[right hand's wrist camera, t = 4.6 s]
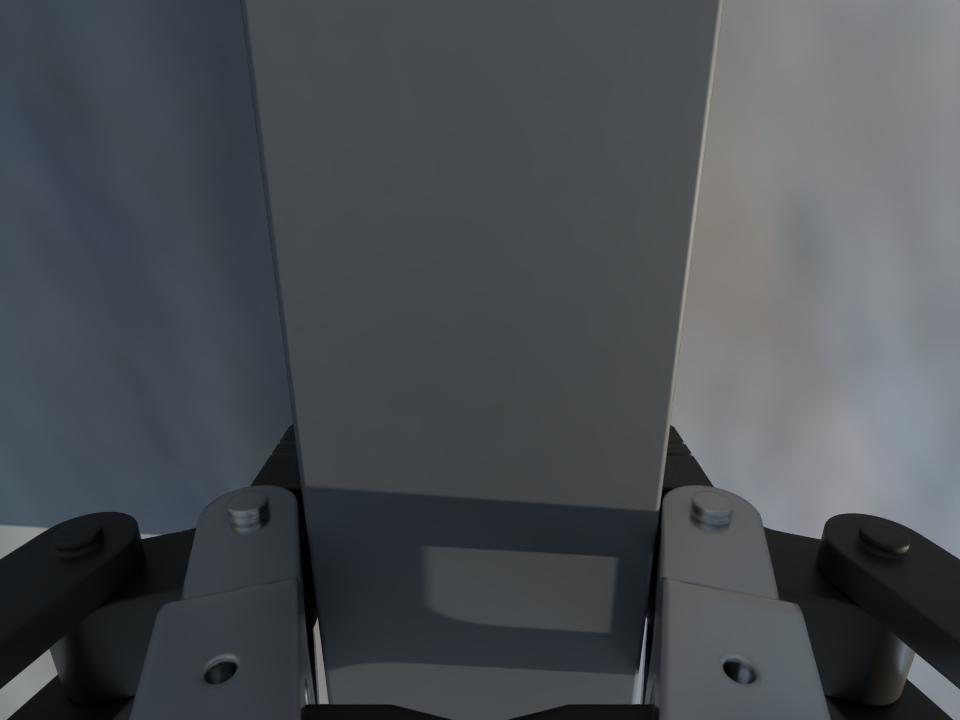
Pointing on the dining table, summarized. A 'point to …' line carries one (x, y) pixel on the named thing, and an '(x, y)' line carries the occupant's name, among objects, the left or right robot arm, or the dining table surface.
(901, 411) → the dining table surface
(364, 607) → the bar
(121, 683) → the right robot arm
